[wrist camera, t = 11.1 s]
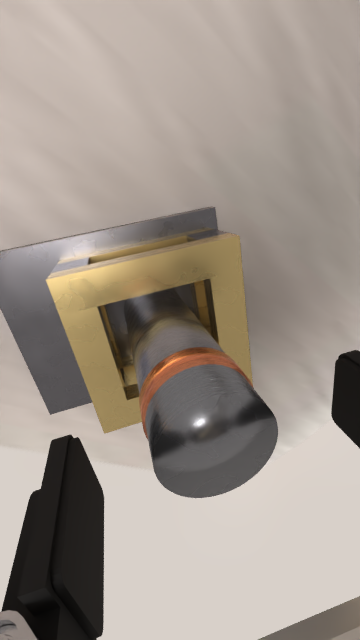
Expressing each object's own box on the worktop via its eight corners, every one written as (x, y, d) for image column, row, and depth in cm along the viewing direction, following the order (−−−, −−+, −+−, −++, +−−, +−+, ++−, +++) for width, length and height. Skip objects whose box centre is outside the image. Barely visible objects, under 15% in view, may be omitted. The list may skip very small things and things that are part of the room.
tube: (177, 274, 22) (278, 374, 9) (187, 329, 24) (282, 473, 11) (115, 289, 21) (134, 418, 9) (131, 344, 23) (165, 516, 11)
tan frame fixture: (210, 206, 22) (250, 209, 16) (228, 355, 27) (263, 397, 21) (-18, 254, 19) (-70, 278, 13) (52, 406, 25) (36, 470, 19)
